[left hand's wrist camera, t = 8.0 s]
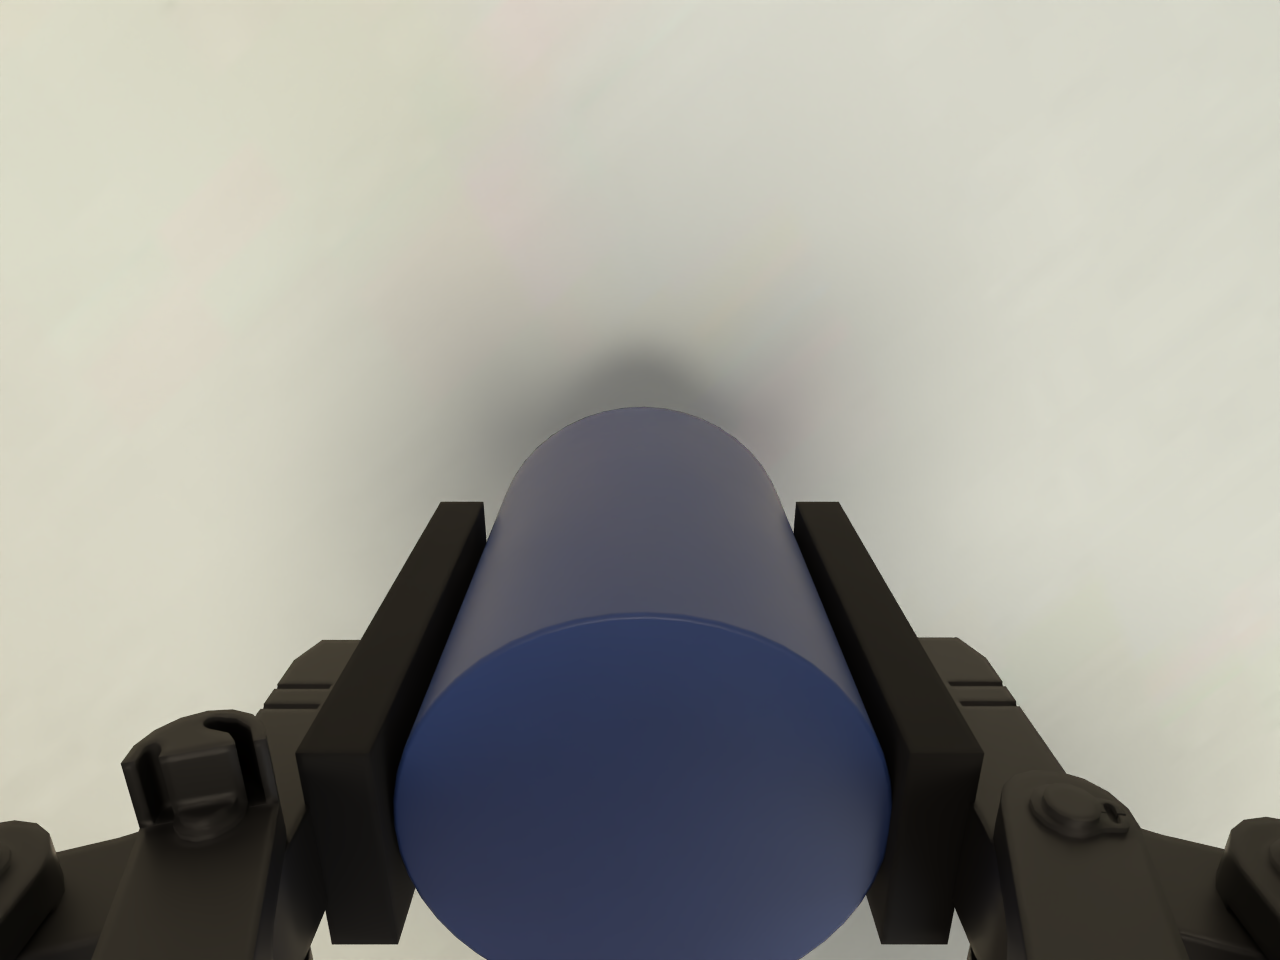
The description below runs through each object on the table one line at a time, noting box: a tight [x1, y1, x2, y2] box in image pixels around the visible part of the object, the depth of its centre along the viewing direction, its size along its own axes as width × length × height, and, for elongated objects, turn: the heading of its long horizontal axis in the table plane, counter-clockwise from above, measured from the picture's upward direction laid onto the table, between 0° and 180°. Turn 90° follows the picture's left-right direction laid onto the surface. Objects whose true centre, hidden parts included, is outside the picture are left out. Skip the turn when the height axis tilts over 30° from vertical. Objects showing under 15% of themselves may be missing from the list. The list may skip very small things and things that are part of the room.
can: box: [393, 407, 892, 960], centre depth 12 cm, size 6×6×7 cm
